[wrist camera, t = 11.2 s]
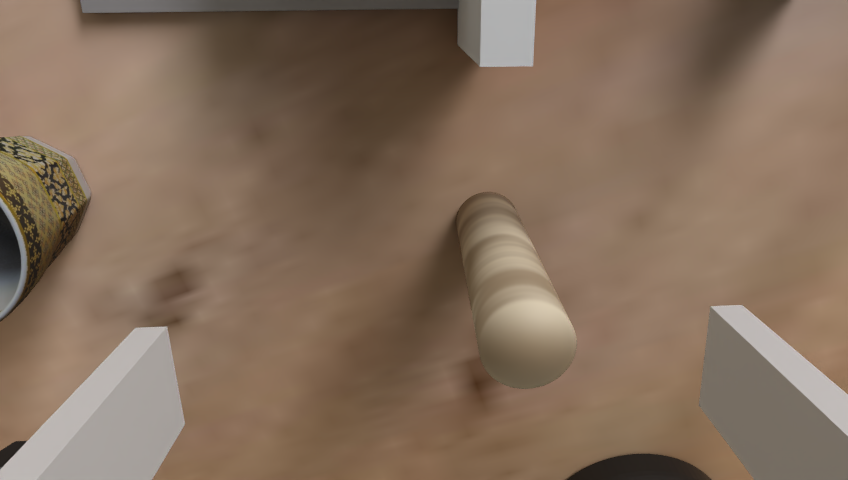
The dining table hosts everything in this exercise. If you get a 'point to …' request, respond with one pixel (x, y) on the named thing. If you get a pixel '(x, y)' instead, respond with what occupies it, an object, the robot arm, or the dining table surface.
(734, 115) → the dining table surface
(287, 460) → the dining table surface
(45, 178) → the ceramic cup
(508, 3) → the backstop wall
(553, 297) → the dowel
